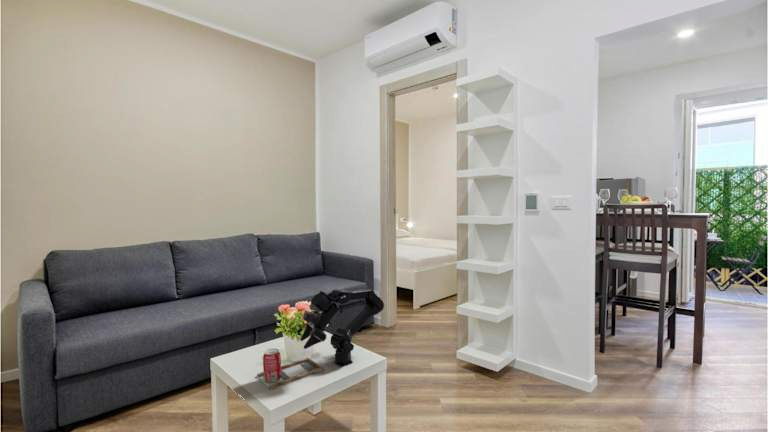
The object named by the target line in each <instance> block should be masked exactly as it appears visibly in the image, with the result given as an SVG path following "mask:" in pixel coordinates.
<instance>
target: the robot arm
mask: <svg viewBox="0 0 768 432" xmlns="http://www.w3.org/2000/svg"><path fill="white" fill-rule="evenodd" d="M361 299H363V302H365V304H364V306H363V307H364V308H363V309H362V311H360V312H359V313H358V315H357V316H356V317H355V318H354V319H353V320H351V321H350V323H348V324H347V325H346V327H344V328H342V327H338V328H337V329H336V330H335V331H334V332H332V335H331V336H330V345H331V346H332V348H333V349H335V353H334V361H333V363H335V364H337V365H338V366H339V367H346V366H348V365H350V364H353V363H354V361H353V360H352V353H351V352H352V351H353V350H354V348H355V345H354V344H353V343H352V341H353V340H352V339H353V336H354V335H355V334H357V332H358V331H359V330H360V329H361V328H362V327H363V326H364V324H366V322H367V321H368V320H369V319H370V318H372V316H376V315H378V314H380V313H381V312H382V311H383V310H384V308H385V303H384V301H383V300H382V298H380V297H379V295H377V294H376V293H375V292H374V291H373V290H372V289H369V288H363V289H355V290H354V289H353V290H342V289H333V290H332V291H331V292H330V293H328V294H327V293H325V291H324V290H323V291H322V290H320V291H319V293H316V294H315V295H314V296H313V297H312V299H311V305H313V306H314V307H315V308H316V309H318V310H320V311H318V312H317V313H315V312H311V311H308V310H304V313H303V314H302V317H301V318H302V319H303V321H305V322H307V323H305V329H304V330H303V333H302V335H301V337H300V341H301V342H303V341H305V340H306V339H307V341H306V342H305V344H304V345H303V349H304V350H306V349H308V348H310V347H312V346H315V345H317V344H319V343H322V342H323V343H324V342H325V340H326V339H327V334H326V333H325V331H326V330H325V329H326V327H327V326H328V325H331V323H332V320H333V319H334V318H335V317H336V315H337V314H338V313H340V314H343V313H344V312H343V306H342V305H344V304H347V303H349V302H350V301H353V300H361ZM336 303H337V304H336ZM338 304H339V305H338Z"/></svg>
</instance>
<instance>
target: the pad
mask: <svg viewBox="0 0 768 432" xmlns="http://www.w3.org/2000/svg"><path fill="white" fill-rule="evenodd" d="M258 379H259V380H260V381H261V382H262V383H263V385H265V386H266V388H269V385H272V384H275V383H278V382H281V381H284V380H283V379H281V378H280V379H279V380H278V381H276V382H267V381H265V380H264V376H261V377H258Z"/></svg>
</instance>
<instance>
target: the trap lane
mask: <svg viewBox="0 0 768 432" xmlns="http://www.w3.org/2000/svg"><path fill="white" fill-rule="evenodd" d="M306 362H308V363H310V364H311V365H312V366H314V367H315V368H317V369H316V370H313V371H310V372H309V371H308V372H305V373H302V374H299V375H296V376H293V377H290V379H287V380H284V381H281V382H278V383H275V384H272V385H269V387H268V390H273V389H276V388H278V387H282V386H284V385H286V384H287V385H288V384H289V383H293V382H296V381H298V380H302V379H304V378H307V377H309V376H312V375H316V374H319V373H321V372H323V371H324V368H323V367H322V366H321V365H320V364H319V363H317V362H315V361H314V360H313V359H311V358H310V357H307V359H306V358H303V359H300V360H296V361H293V362H291V363H287V364H284V365H281V370H282V371H283V370H286V369H289V368H293V367H295V366H298V365H301V364H303V363H306ZM256 375H257V376H256V377H257V378H259V377H263V376H264V372H263V371H262V372H259V373H258V372H257V374H256Z"/></svg>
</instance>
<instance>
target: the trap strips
mask: <svg viewBox="0 0 768 432" xmlns="http://www.w3.org/2000/svg"><path fill="white" fill-rule="evenodd" d="M300 366H301V367H303V368H304V369H306V371H308V372H310V371H313V370H316V369H317V368H316V367H314V366H313V365H312V364H310V363H309V362H304V363H301V364H300ZM290 378H291V377H290V376H289V375H287V373H285V371H283V370H281V379H283V380H287V379H290Z"/></svg>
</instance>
